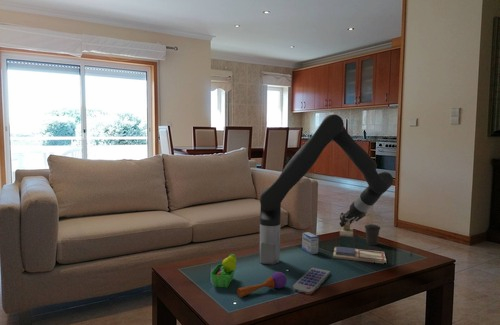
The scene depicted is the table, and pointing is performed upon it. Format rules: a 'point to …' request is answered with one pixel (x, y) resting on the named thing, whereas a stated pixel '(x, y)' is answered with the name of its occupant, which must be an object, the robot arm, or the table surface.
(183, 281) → the table surface
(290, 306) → the table surface
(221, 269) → the fruit basket
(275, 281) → the kendama
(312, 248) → the medicine box
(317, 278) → the remote control
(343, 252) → the ink pad
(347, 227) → the stamp
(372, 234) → the coffee cup
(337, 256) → the stamping board
